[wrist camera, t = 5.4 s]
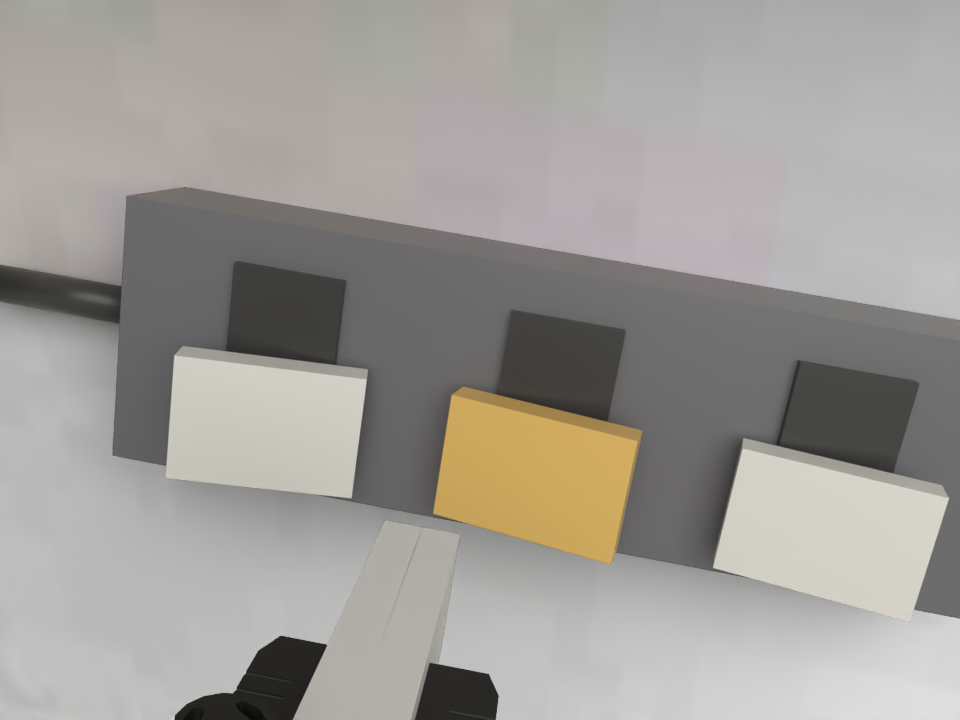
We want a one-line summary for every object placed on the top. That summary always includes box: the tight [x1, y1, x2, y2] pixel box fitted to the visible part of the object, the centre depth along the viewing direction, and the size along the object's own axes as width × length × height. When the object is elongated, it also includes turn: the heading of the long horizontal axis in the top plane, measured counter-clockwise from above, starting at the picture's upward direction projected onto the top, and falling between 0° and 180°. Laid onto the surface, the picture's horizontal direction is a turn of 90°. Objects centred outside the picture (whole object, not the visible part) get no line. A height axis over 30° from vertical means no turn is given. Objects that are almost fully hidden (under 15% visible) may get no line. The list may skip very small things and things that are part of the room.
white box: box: [166, 346, 368, 498], centre depth 26 cm, size 5×4×1 cm
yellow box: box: [433, 386, 643, 564], centre depth 25 cm, size 5×4×1 cm
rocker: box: [713, 438, 949, 622], centre depth 25 cm, size 5×4×1 cm
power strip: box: [0, 187, 960, 618], centre depth 28 cm, size 32×8×4 cm, turn 81°
